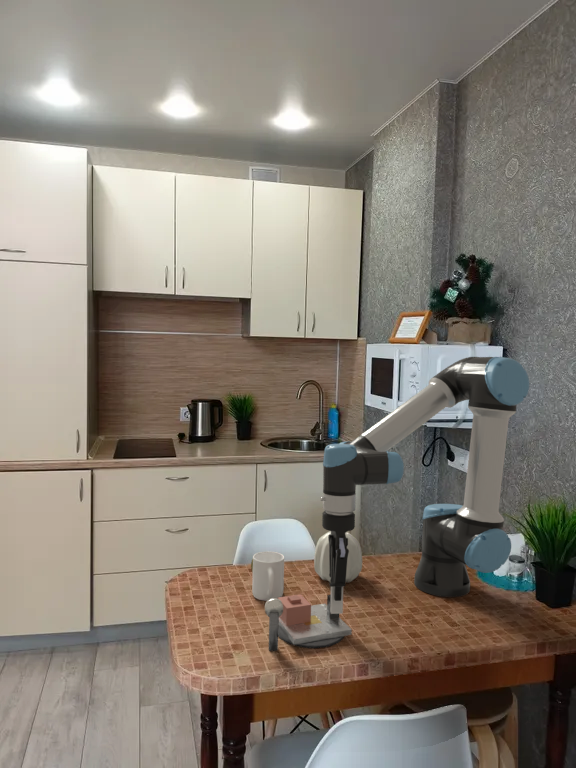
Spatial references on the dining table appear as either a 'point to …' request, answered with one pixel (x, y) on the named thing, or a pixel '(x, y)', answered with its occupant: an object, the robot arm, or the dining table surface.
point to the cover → (295, 610)
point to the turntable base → (312, 644)
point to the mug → (268, 575)
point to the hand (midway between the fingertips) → (336, 612)
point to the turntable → (317, 626)
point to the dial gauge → (273, 621)
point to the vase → (352, 561)
